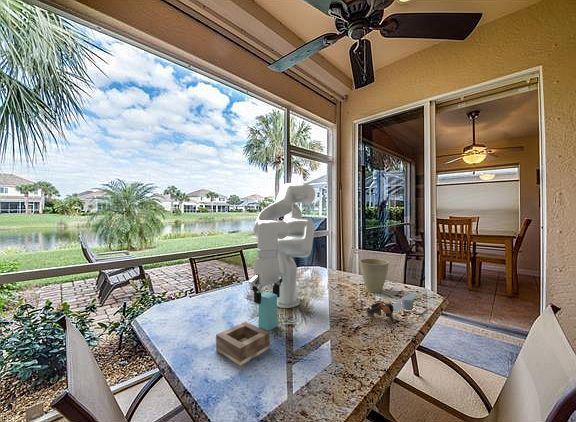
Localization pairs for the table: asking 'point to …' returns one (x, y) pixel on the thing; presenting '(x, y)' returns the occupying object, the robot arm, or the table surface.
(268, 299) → the teal block
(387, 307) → the brown toy animal
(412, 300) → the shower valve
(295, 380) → the table surface
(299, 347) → the table surface
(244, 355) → the walnut well
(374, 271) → the plant pot
